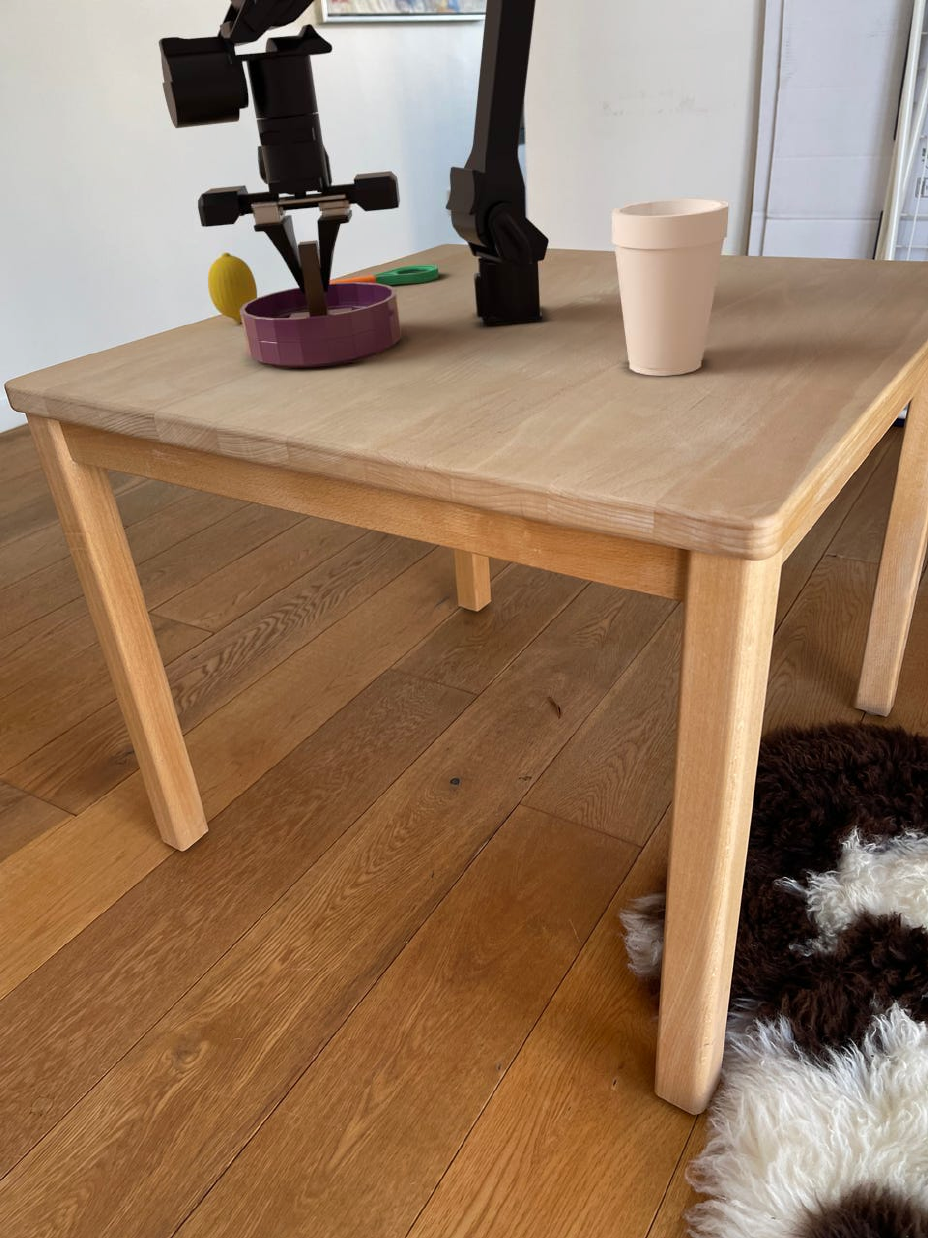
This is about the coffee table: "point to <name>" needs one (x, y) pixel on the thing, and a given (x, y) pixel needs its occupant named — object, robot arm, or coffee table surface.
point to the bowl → (322, 326)
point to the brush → (313, 282)
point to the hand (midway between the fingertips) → (315, 291)
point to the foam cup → (668, 279)
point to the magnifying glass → (398, 276)
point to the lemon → (231, 285)
